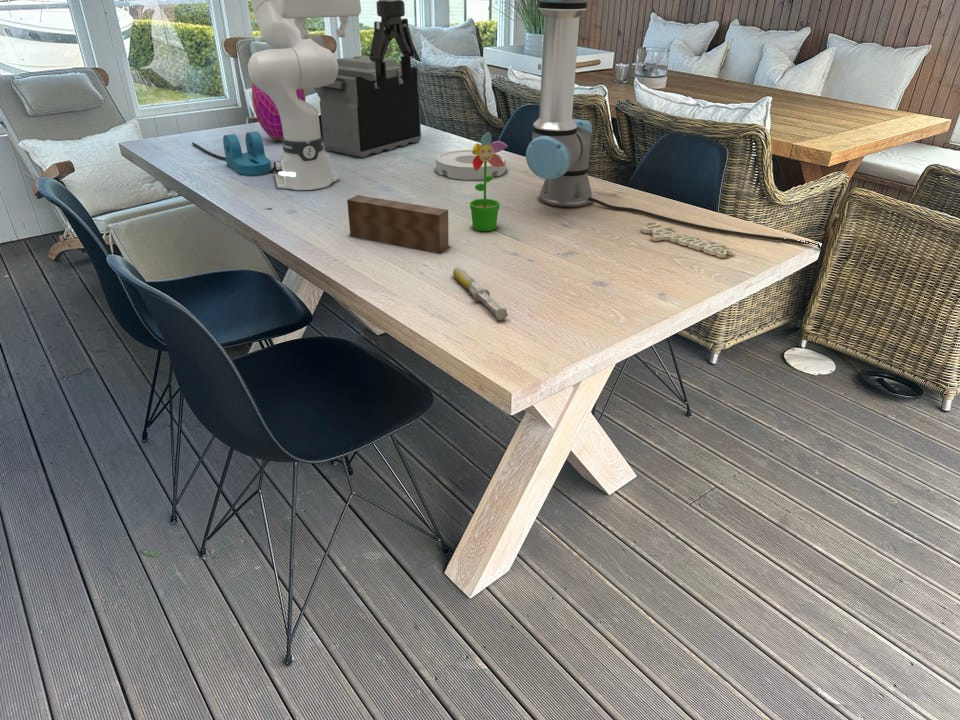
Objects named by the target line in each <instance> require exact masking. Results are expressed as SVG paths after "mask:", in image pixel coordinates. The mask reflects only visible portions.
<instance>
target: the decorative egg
mask: <svg viewBox="0 0 960 720" xmlns="http://www.w3.org/2000/svg"><path fill="white" fill-rule="evenodd" d="M296 94H297V97H298V99H300V100H302V101H305V102H307V101H306V99H307V97H306V93H305V89H298V90H296ZM251 101H252V107H253V110H254V114H255V116H256V118H257V121H258V123H259V125H260V127H261V128H262V130H263V131H264V133H266V135H267V136H268V137H270V138H271V139H273V140H275V141H282V142H283V138H284V137H283V130H282V124H281V119H280V115H279V112H278V109H277V107H276V105H275V103H274V102H273V101H272V99H271V98H270V97H269V96H268V95H267V94H266V93H265V92H263V91H262V90H260V89H259V88H257V87H256V86H255V85H254V83H253V82H252V81H251Z"/></svg>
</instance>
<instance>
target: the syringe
mask: <svg viewBox="0 0 960 720" xmlns="http://www.w3.org/2000/svg"><path fill="white" fill-rule="evenodd" d="M452 274H453V277H454V279H455V280H457V281H458V282H459V283H460V285H462V287H464V289H466V290H467V291H468V293H470V295H471V296H472V298H473V300H474V302H477V303H478V302H480V303H482V304H483V305H484V306H485V307H486V308H487V309H488V310H489V311H490V312H491V313H492V314H493V315H494V316H495V317H496V320H497V321H503V320H504V319H506V318H507V317H509V314H508V310H507V308H506V307H502V306H501V305H500V303H498V302H497V301H496V300H494V299H493V298H492V297H491V296H490V295H491V293H490V290H488V289H486V288H483V287H482V286H481V285H480V284H479V283H478V282H477V281H476V280H474V278H473V277H471V275H469V274H468V273H467V272H466V270H465V269H464V268H463V267H462V266H456V267H454V268H453V271H452Z"/></svg>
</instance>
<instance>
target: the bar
mask: <svg viewBox="0 0 960 720" xmlns="http://www.w3.org/2000/svg"><path fill="white" fill-rule="evenodd" d="M346 203H347V215H348V225H349V237H353V238H357V239H364V240H368V241H374V242H379V243H385V244H390V245H394V246H400V247H406V248H411V249H416V250H421V251H426V252H432V253H437V254H441V253H442V252H444V251H445V250H447V249H448V248H449V246H450V245H449V243H450V242H449V209H447V208H446V209H445V208H441V207H440V208H439V207H433V206H428V205H427V206H426V205H422V204H415V203H409V202H402V201H397V200H392V199H385V198H379V197H372V196H366V195H361V194H357V195H354V196H352V197H350V198H348V199H347V200H346Z"/></svg>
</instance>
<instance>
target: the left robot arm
mask: <svg viewBox="0 0 960 720" xmlns="http://www.w3.org/2000/svg"><path fill="white" fill-rule="evenodd" d="M250 1H251V7H252V10H253V14H254V17H255V21H256V22H257V26H258V29H259V32H260V33H261V36H262V39H263V40H264V42H265V43H266V44H267V46H269V47H270V49H269V48H268V49H263V50H260V51H257V52H253V53H252V54H251V56H250V58H249V59H248V63H247V71H248V76H249V79H250V80H251V83H252V82H253V83H254V85H255V86H256V87H257V88H259V89H260V90H262V91H263V92H265V93H266V94H267V95H268V96H269V97H270V98H271V99H272V101H273V102H274V103H275V105H276V107H277V109H278V112H279V115H280V119H281V124H282V130H283V137H284V138H283V141H282V142H281V143H282V144H281V145H282V151H283V152H282V154H281V156H280V158H279V160H278V161H277V160H276V161H274V162H273V167H272V168H271V170H270V172H269V173H271V174H272V173H274V179H275V183H276V187H277V189H287V190H295V191H313V190H318V189H324V188H326V187H329V186H330V185H331V184H332V183H335V182H337V181H338V177H337V176H335V175H333V173H332V166H331V160H330V159H331V158H330V154H328V153H327V152H326V151H324V149H325V147H324V143H323V138H322V136H321V132H320V123H319V115H320V114H319V112H318V109H317V108H316V107H315V106H314V105H312V104H311V103H310V102H307V101H306V102H305V101H302V100H300V99H298V97H297V94H296V90H298V89H304V90H306V89H314V88H320V87H323V86H326V85H330V84H333V83H334V82H335V80H336V78H337V76H338V62H337V59H338V58H337V57H336V56H335V54H334V53H333V52H332V51H331V50H330V49H328V48H326V47H324V46H322V45H320V44H318V43H317V42H316V41H314V40H313V39H311V37H310V33H309V30H305V28H304V26H303V24H304V19H314V18H318V19H319V18H338V19H339V22H340V25H339V28H336V29H335V31H336V32H335V33H336V37H337V38H345V37H346V28H347V25H348V24H349V17H359V16H360V15H361V13H362V5H361V0H250ZM191 145H193V146H195V147H196V148H198V149H199V150H201V151H203V152H204V153H206V154H209V155H210V156H212V157H215V158H218V159H221V160H225V161H226V156H223V155H220V154H219V155H218V154H215V153H213V152H211V151H209V150H206V149H205V148H204V147H202V146H200V145H199V144H198V143H195V142H194V141H193V142H192V143H191Z"/></svg>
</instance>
